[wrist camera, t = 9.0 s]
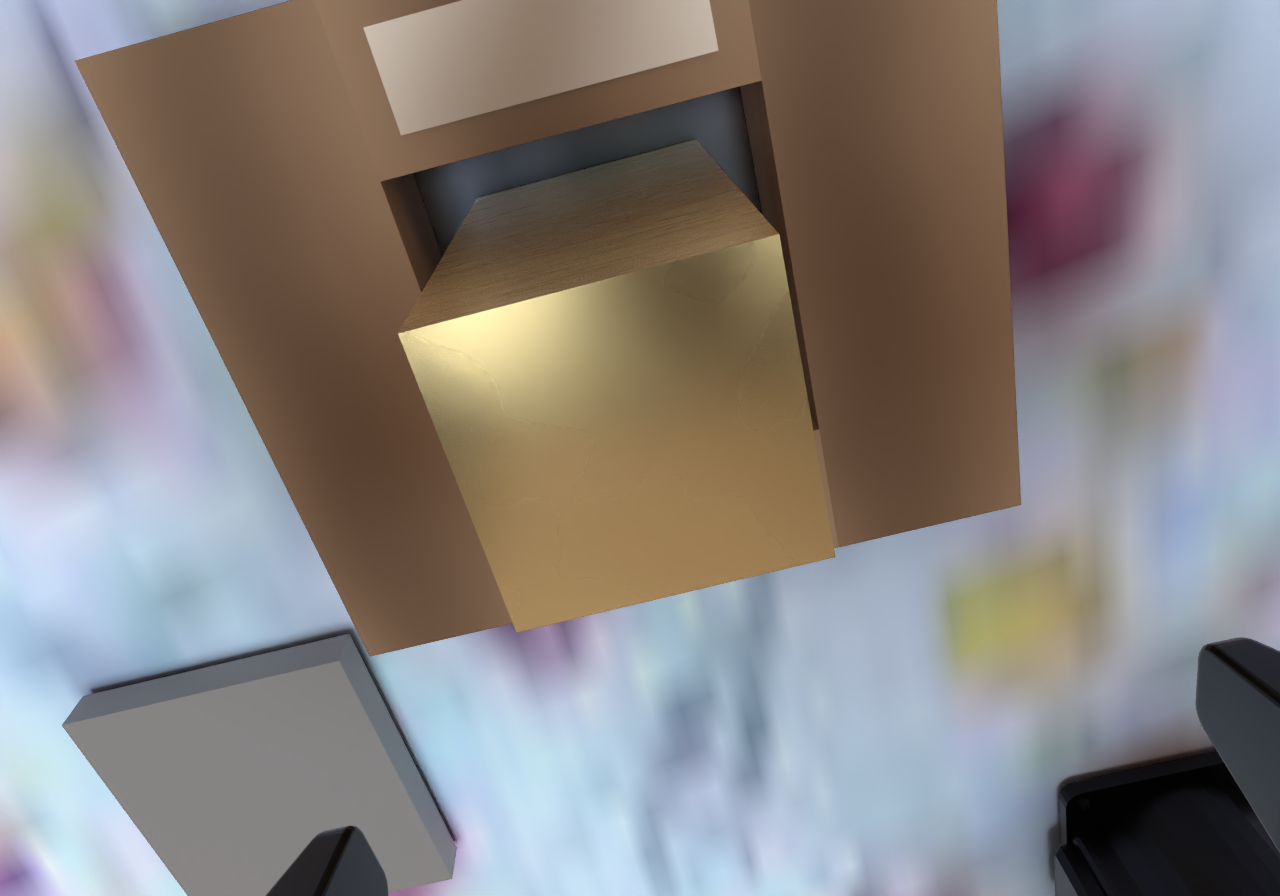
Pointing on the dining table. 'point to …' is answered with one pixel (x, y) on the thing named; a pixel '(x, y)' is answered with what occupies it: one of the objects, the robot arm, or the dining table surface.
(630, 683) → the dining table surface
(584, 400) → the peg block
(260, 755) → the grey square plate
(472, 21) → the rack plate
